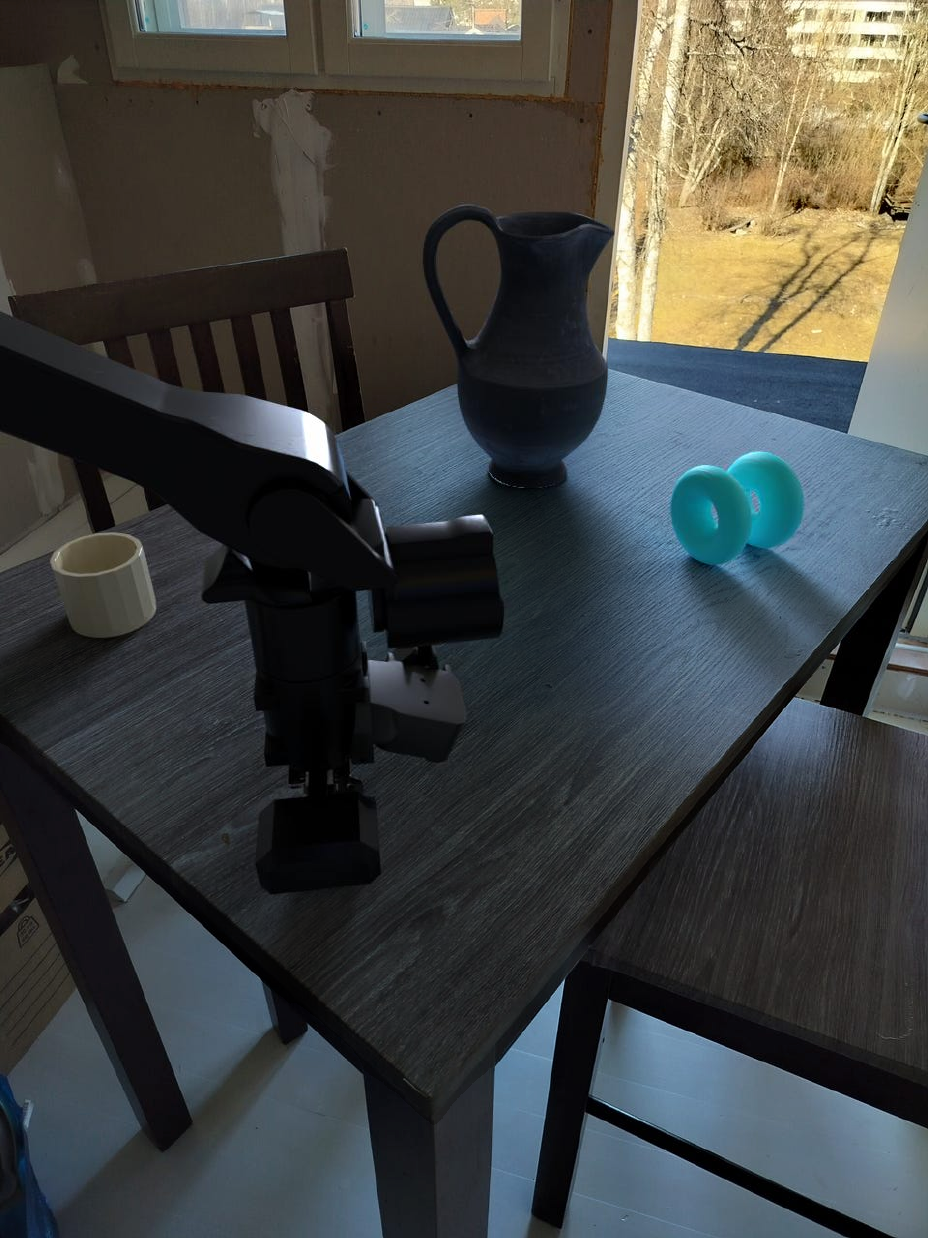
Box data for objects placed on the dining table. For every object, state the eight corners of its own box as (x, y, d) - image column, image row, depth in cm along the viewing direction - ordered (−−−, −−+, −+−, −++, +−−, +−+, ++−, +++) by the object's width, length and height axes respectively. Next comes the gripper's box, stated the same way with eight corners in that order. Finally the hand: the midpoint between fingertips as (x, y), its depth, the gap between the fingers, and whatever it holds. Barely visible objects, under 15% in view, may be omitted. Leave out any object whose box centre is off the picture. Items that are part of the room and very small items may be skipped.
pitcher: (614, 500, 98) (648, 216, 81) (436, 512, 95) (431, 222, 78) (575, 440, 112) (597, 187, 95) (419, 449, 109) (411, 191, 92)
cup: (60, 641, 75) (40, 579, 72) (80, 594, 81) (62, 535, 78) (149, 634, 76) (133, 573, 72) (162, 588, 82) (148, 529, 79)
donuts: (658, 540, 90) (671, 453, 85) (728, 519, 94) (746, 434, 89) (723, 585, 83) (743, 493, 78) (797, 560, 87) (821, 471, 81)
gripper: (480, 757, 39) (476, 956, 48) (437, 552, 54) (439, 733, 63) (234, 779, 38) (276, 980, 47) (260, 564, 53) (288, 746, 62)
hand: (331, 842), depth 55 cm, fingers closed on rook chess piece, 4 cm apart
